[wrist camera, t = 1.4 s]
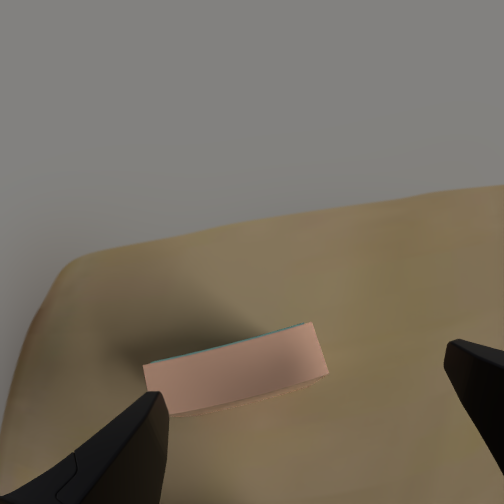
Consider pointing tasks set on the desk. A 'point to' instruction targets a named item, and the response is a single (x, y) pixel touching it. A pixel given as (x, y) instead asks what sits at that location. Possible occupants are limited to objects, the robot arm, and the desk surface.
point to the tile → (238, 372)
